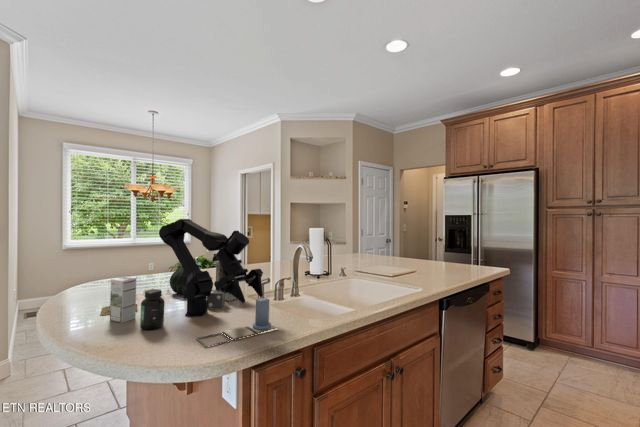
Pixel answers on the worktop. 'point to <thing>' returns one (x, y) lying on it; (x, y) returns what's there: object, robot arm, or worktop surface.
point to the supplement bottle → (152, 311)
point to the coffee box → (218, 276)
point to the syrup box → (123, 299)
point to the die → (216, 299)
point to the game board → (236, 334)
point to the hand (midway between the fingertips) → (253, 299)
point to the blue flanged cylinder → (262, 315)
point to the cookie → (108, 311)
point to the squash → (179, 281)
